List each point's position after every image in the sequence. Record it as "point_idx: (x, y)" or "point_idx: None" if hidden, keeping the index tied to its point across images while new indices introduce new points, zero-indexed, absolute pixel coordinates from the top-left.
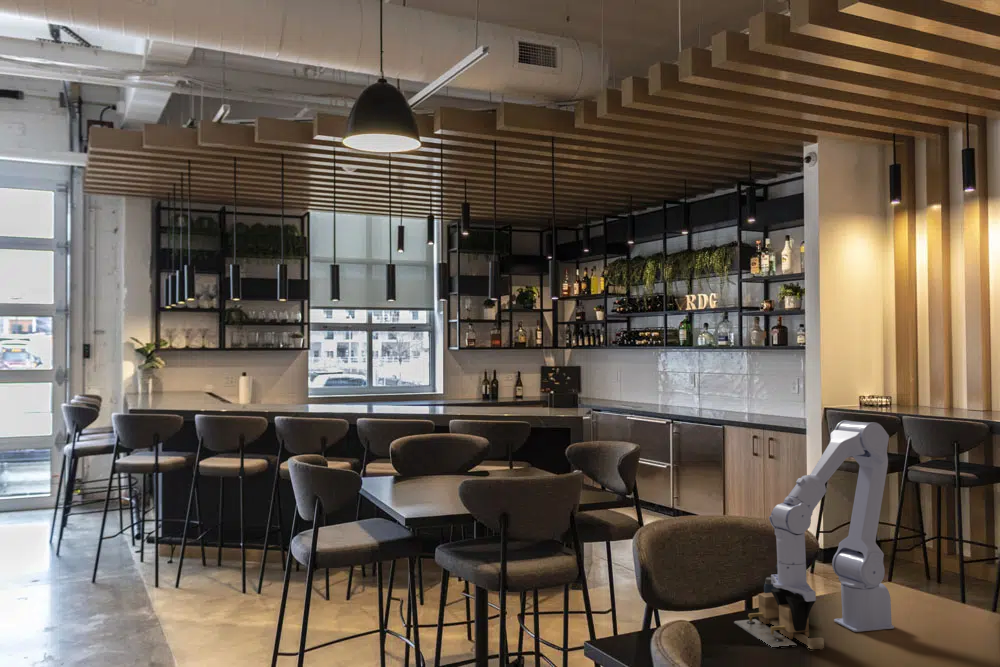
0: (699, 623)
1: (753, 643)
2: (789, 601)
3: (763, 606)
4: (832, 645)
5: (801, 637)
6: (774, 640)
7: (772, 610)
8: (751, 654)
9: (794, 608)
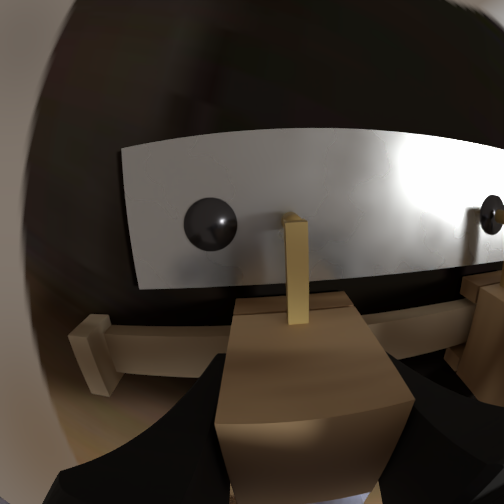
0: (500, 34)
1: (224, 75)
2: (109, 495)
3: None
4: (151, 411)
5: (203, 351)
6: (210, 196)
7: (492, 340)
8: (89, 38)
9: (113, 452)
